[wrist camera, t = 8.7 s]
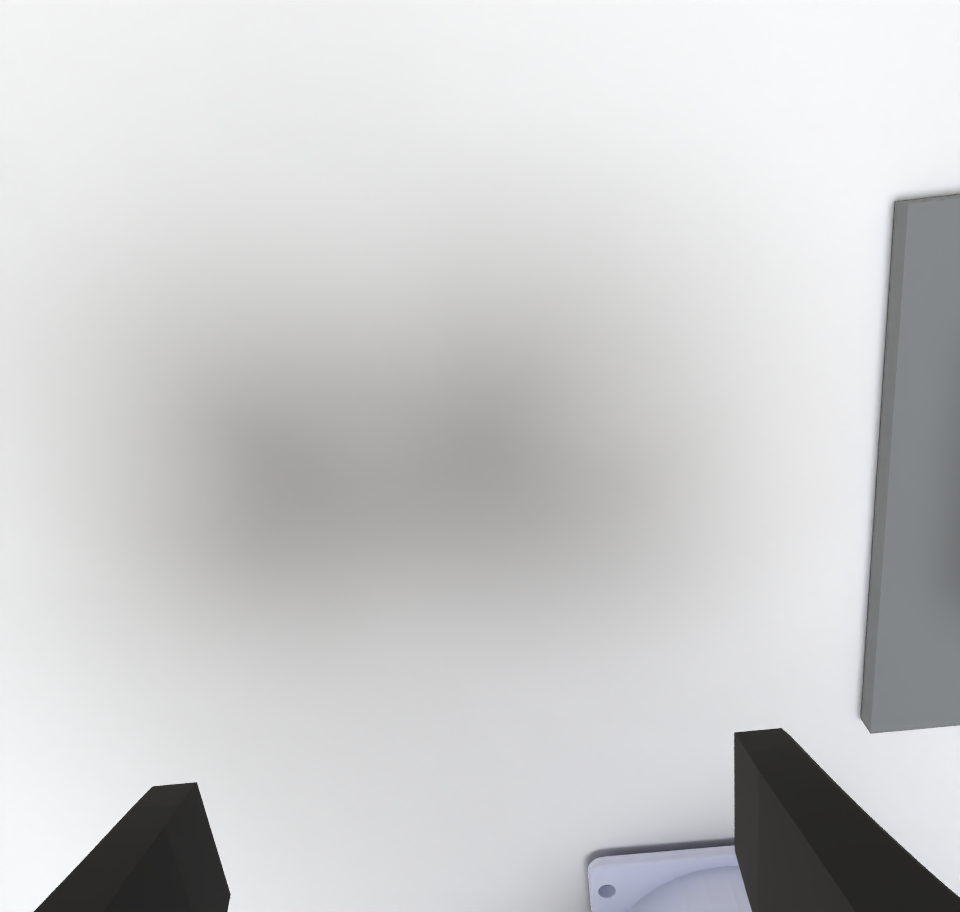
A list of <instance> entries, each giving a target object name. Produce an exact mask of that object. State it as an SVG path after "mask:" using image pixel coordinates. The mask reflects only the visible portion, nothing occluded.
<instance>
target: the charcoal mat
mask: <svg viewBox="0 0 960 912" xmlns="http://www.w3.org/2000/svg"><path fill="white" fill-rule="evenodd" d="M861 720H862V721H863V723H864V724H865V726H866V727H867V729H868V730H869V732H870V733H881V732H892V731H903V730H914V729H924V728H935V727H946V726H957V725H960V194H957V195H948V196H940V197H931V198H923V199H914V200H905V201H897V202H895V213H894V228H893V243H892V258H891V273H890V288H889V304H888V319H887V334H886V349H885V364H884V379H883V394H882V410H881V425H880V440H879V455H878V470H877V485H876V500H875V516H874V531H873V546H872V561H871V576H870V591H869V606H868V622H867V637H866V652H865V667H864V682H863V697H862V712H861Z"/></svg>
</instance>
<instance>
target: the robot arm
mask: <svg viewBox="0 0 960 912" xmlns="http://www.w3.org/2000/svg"><path fill="white" fill-rule="evenodd" d="M734 773H735V845H731V846H720V847H708V848H697V849H685V850H674V851H662V852H651V853H640V854H628V855H617V856H605V857H600V858H597V859H595V860H593V861H592V862H591V863H590V865H589V866H588V880H589V892H590V903H591V912H960V897H958V896H957V895H956V894H955V893H954V892H953V891H951V890H950V889H949V888H948V887H947V886H945V885H944V884H943V883H942V882H941V881H940V880H939V879H937V878H936V877H935V876H934V875H933V874H932V873H931V872H930V871H928V870H927V869H926V868H925V867H924V866H923V865H922V864H921V863H919V862H918V861H917V860H916V859H915V858H914V857H913V856H912V855H911V854H910V853H909V852H908V851H906V850H905V849H904V848H903V847H902V846H901V845H900V844H899V843H898V842H897V841H896V840H895V839H893V838H892V837H891V836H890V835H889V834H888V833H887V832H886V831H885V830H884V829H883V828H882V827H881V826H879V825H878V824H877V823H876V822H875V821H874V820H873V819H872V818H871V817H870V816H869V815H868V814H867V813H866V812H865V811H864V810H863V809H862V808H861V807H860V806H859V805H858V804H857V803H856V802H855V801H854V800H853V799H852V798H851V797H850V796H849V795H848V794H847V793H846V792H845V791H844V790H843V789H842V788H841V787H840V786H839V785H838V784H836V783H835V781H834V780H833V779H832V778H831V777H830V776H829V775H828V774H827V773H826V772H825V771H824V770H823V769H822V768H821V767H820V766H819V765H818V764H817V763H816V762H815V761H814V760H813V759H812V758H811V757H810V756H809V755H808V754H807V753H806V752H805V751H804V750H803V749H802V748H801V746H800V745H799V744H798V743H797V742H796V741H795V740H794V739H793V738H792V737H791V736H790V735H789V734H788V733H786V732H785V731H784V730H783V729H782V728H778V729H768V730H757V731H746V732H735V733H734ZM604 885H610V886H606V887H603V886H604ZM229 900H230V891H229V888H228V885H227V881H226V878H225V875H224V871H223V868H222V865H221V861H220V858H219V855H218V852H217V848H216V845H215V842H214V838H213V835H212V832H211V828H210V825H209V822H208V818H207V815H206V812H205V808H204V805H203V802H202V798H201V795H200V792H199V788H198V785H197V782H195V783H184V784H174V785H163V786H153V787H152V788H151V789H150V790H149V791H148V792H147V793H146V794H145V795H144V796H143V797H142V798H141V799H140V800H139V801H138V802H137V803H136V804H135V805H134V806H133V807H132V808H131V809H130V810H129V811H128V812H127V813H126V815H125V816H124V817H123V818H122V819H121V820H120V821H119V822H118V823H117V824H116V825H115V826H114V827H113V828H112V830H111V831H110V832H109V833H108V834H107V835H106V836H105V837H104V838H103V839H102V840H101V841H100V842H99V844H98V845H97V846H96V847H95V848H94V849H93V850H92V851H91V852H90V853H89V854H88V855H87V856H86V857H85V859H84V860H83V861H82V862H81V863H80V864H79V865H78V866H77V867H76V868H75V869H74V870H73V871H72V872H71V873H70V874H69V875H68V876H67V878H66V879H65V880H64V881H63V882H62V883H61V884H60V885H59V886H58V887H57V888H56V889H55V890H54V891H53V892H52V893H51V894H50V895H49V896H48V897H47V898H46V899H45V901H44V902H43V903H42V904H41V905H40V906H39V907H38V908H37V909H36V910H35V911H34V912H227V910H228V905H229Z"/></svg>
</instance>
